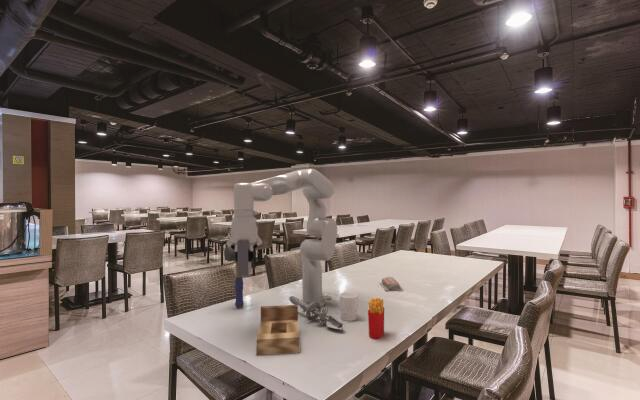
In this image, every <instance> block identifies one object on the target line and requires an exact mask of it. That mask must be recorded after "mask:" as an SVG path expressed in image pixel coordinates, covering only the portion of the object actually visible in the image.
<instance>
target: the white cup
mask: <svg viewBox="0 0 640 400" xmlns="http://www.w3.org/2000/svg"><path fill="white" fill-rule="evenodd" d="M338 297H339V308H340V309H339V311H340V320H341V321H345V322H354V321H356V320H357V318H358V306H359V304H358V303H359V295H358V294H357V293H355V292H349V291H348V292H347V291H346V292H341V293H339V295H338Z"/></svg>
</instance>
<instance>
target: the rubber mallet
mask: <svg viewBox="0 0 640 400" xmlns="http://www.w3.org/2000/svg"><path fill="white" fill-rule="evenodd" d="M223 252H224V253H223V254H224V255H223V256H224V259H225V260H226V261H227V262H235V263H236V265H235V266H236V271H235V272H236V273H235V274H236V276H235V282H234V290H235V303H234V306H235V308H236V309H242V308H243V306H244V304H245V303H244V293H243V292H244V279H243V276H238V262H237V260H236V256H235V251H234V250H233V249H232V248H231V247H229V246H228V245H227V246H226V247H225V248H224V251H223Z"/></svg>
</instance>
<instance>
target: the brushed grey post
mask: <svg viewBox="0 0 640 400" xmlns="http://www.w3.org/2000/svg"><path fill="white" fill-rule="evenodd" d="M249 252H250V246H249V241H237V259H238V276H242V277H246V276H248V277H249V275H250V274H251V272H252V261H251V262H249Z"/></svg>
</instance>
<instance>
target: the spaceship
mask: <svg viewBox="0 0 640 400" xmlns="http://www.w3.org/2000/svg"><path fill="white" fill-rule="evenodd" d="M288 300H289V301H290V303H291V304H292V305H298V306H299V307H300V308H301V310H302V313H306V314H305V315H306V319H307V321H311V322H312V321H316V320H317V319H318V321H317V322H318V323H317V325H319V326H321V327H323V326H324V324H326V327H328V328H332V329H335V330H339V331H341V330H342V331H343V330H344V329H343V327H345V325H344V322H342V320H341V318H339V317H338V316H333V315H328V311H329V309H328V308H325V307H324V306H322V307H323V308H322V307H321V306H320V304H319V303H318V302H313V303H311V304H310V305H309V304H308V303H309V302H308V301H306V303H305V302H300V301H301V300H300V299H299V298H298V297H296V296H292V295H290V296H289V298H288ZM313 307H315V308H313Z"/></svg>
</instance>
